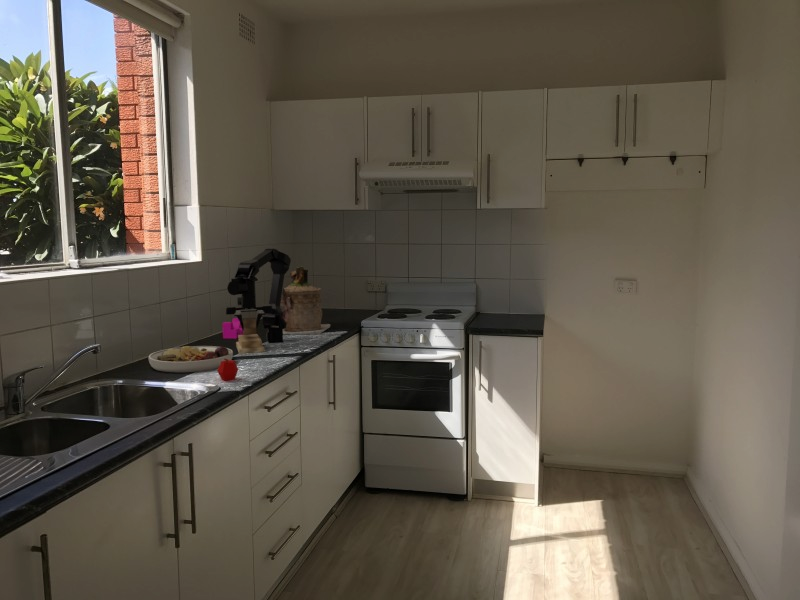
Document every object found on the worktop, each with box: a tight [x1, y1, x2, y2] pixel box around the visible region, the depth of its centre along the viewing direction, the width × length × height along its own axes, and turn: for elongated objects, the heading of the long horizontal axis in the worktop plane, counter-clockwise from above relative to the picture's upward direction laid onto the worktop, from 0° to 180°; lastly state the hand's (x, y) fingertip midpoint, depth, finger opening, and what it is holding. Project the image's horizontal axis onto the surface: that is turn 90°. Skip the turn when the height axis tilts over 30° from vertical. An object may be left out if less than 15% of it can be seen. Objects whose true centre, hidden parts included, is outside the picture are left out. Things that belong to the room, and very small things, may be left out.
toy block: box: [222, 317, 245, 339], centre depth 315 cm, size 15×6×8 cm, turn 174°
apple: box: [217, 358, 239, 382], centre depth 226 cm, size 7×7×8 cm
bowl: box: [148, 345, 234, 373], centre depth 251 cm, size 30×30×8 cm
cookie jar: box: [280, 265, 331, 336], centre depth 326 cm, size 25×25×32 cm
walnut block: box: [242, 317, 257, 335], centre depth 279 cm, size 5×5×6 cm
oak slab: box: [237, 333, 263, 349], centre depth 280 cm, size 8×16×3 cm, turn 18°
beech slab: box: [235, 341, 266, 355], centre depth 281 cm, size 10×18×3 cm, turn 18°
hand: (249, 330), depth 280 cm, fingers closed on walnut block, 5 cm apart
